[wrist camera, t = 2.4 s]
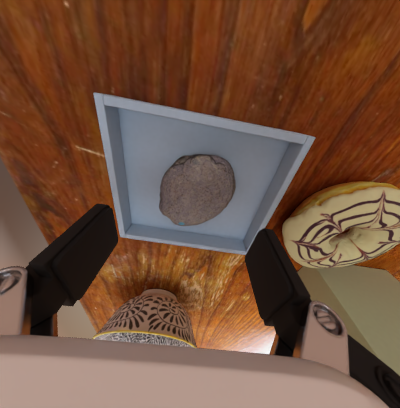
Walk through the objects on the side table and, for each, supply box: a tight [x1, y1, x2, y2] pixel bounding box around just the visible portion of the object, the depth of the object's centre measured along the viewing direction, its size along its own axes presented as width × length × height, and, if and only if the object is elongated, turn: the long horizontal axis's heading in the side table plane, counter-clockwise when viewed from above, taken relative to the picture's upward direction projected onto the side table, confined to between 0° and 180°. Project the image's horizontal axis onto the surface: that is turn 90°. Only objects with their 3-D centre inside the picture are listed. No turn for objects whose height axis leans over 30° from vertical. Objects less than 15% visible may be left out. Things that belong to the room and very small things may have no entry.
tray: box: [93, 93, 315, 255], centre depth 14 cm, size 15×13×2 cm
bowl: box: [92, 289, 197, 348], centre depth 25 cm, size 16×16×8 cm
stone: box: [159, 154, 236, 226], centre depth 14 cm, size 7×8×2 cm
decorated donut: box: [282, 181, 400, 268], centre depth 15 cm, size 10×11×4 cm
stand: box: [297, 265, 400, 376], centre depth 15 cm, size 12×12×22 cm
